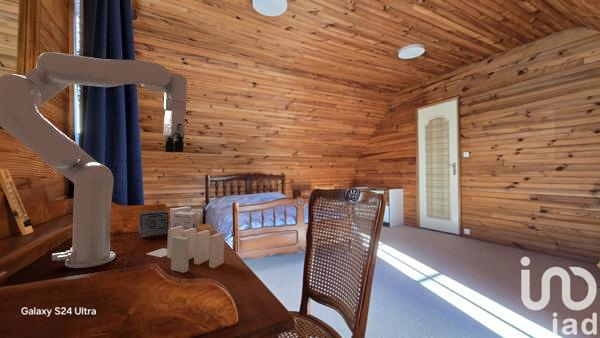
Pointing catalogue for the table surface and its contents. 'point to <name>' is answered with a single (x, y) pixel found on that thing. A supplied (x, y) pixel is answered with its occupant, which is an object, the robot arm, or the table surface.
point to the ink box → (185, 220)
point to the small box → (153, 224)
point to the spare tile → (180, 254)
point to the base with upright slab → (175, 210)
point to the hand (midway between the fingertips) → (173, 152)
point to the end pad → (159, 253)
